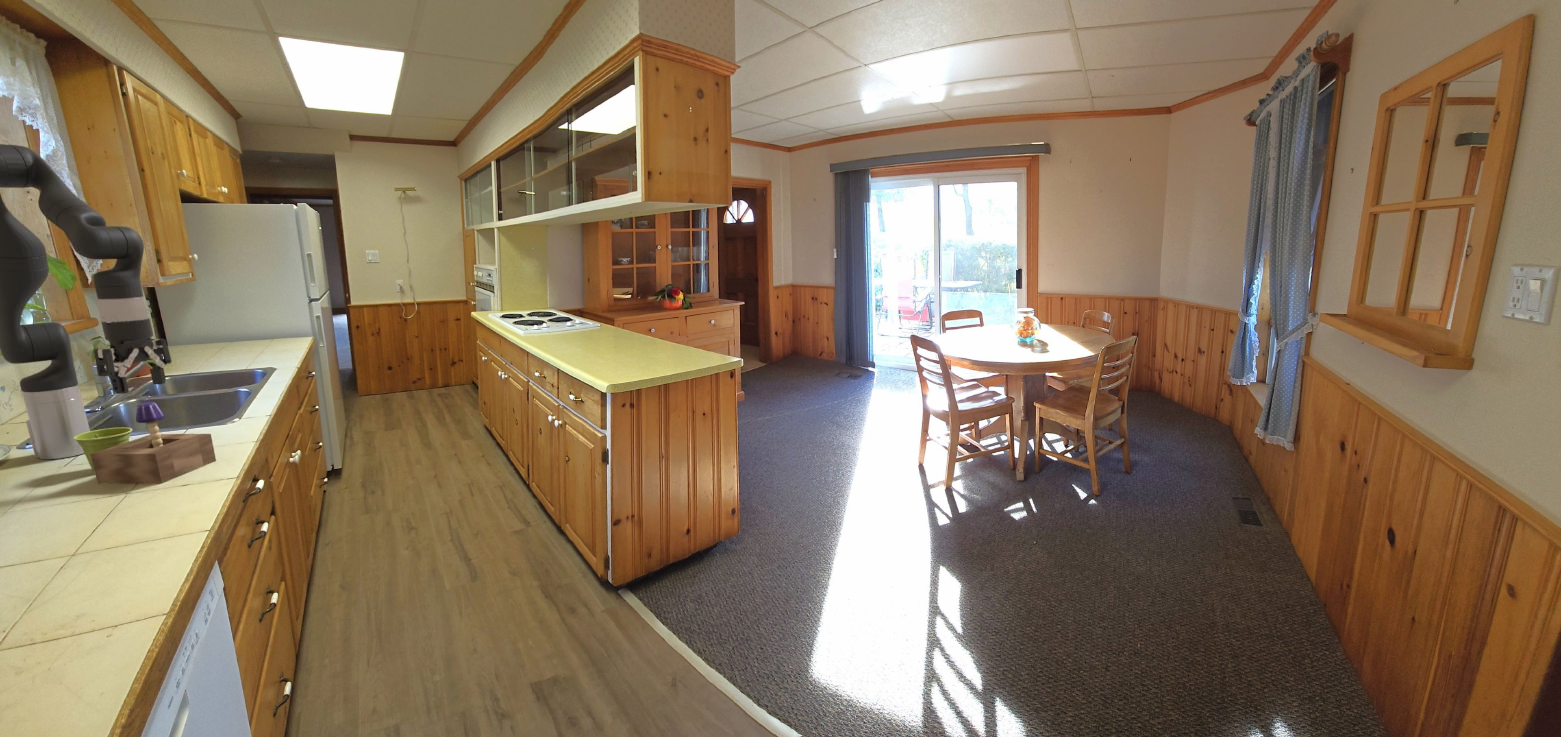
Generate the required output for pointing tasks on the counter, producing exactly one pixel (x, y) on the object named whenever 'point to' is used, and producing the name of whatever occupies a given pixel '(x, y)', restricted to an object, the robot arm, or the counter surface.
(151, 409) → the toy lamp
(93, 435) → the plant pot
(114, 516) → the counter surface
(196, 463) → the socket block
